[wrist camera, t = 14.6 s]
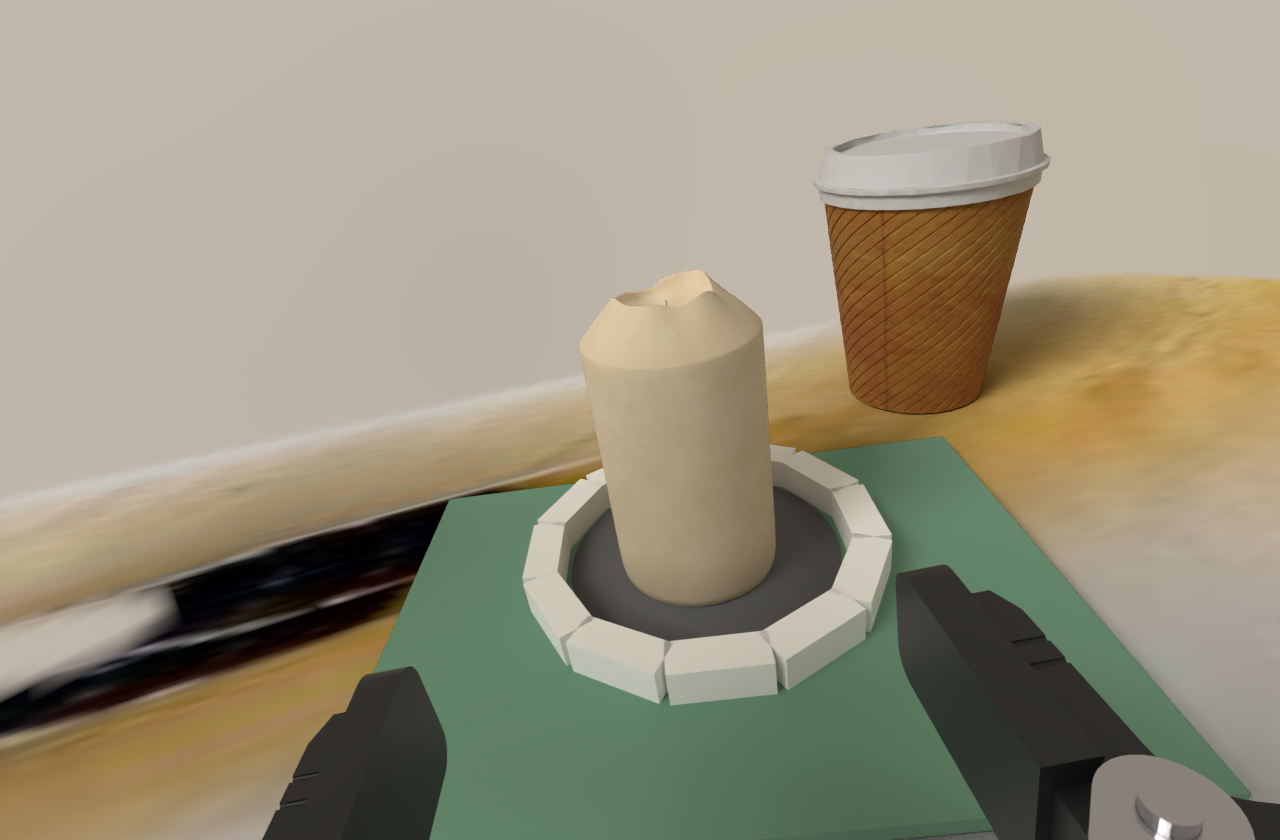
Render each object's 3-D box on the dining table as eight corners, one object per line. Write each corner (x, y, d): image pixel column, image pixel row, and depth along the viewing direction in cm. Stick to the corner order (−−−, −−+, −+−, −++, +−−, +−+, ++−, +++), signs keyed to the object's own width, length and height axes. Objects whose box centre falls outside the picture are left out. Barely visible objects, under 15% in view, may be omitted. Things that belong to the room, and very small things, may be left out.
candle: (696, 492, 27) (665, 251, 22) (809, 545, 23) (799, 266, 18) (592, 562, 24) (532, 300, 19) (702, 636, 20) (659, 330, 16)
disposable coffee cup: (919, 337, 39) (932, 119, 34) (1065, 392, 31) (1113, 118, 26) (783, 380, 37) (772, 153, 31) (903, 453, 29) (917, 163, 23)
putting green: (289, 895, 16) (260, 854, 15) (453, 505, 30) (443, 474, 29) (1244, 807, 14) (1267, 758, 14) (939, 444, 29) (942, 409, 28)
